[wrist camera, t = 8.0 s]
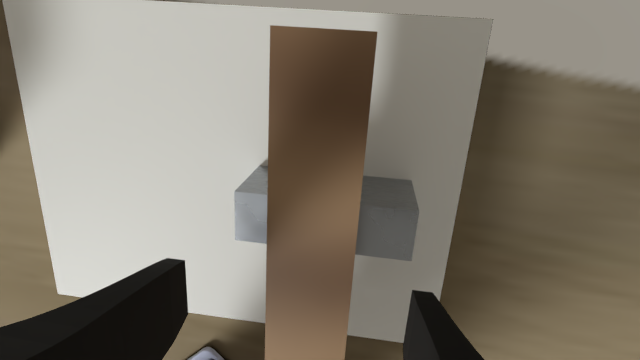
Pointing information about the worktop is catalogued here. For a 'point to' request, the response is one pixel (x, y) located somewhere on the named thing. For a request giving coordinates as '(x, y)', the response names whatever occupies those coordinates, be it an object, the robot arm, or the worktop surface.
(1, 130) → the worktop surface
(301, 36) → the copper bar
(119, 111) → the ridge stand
